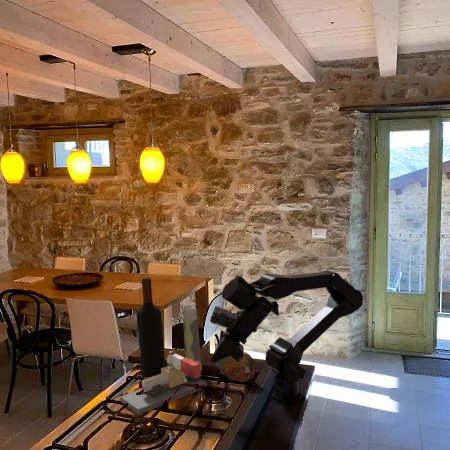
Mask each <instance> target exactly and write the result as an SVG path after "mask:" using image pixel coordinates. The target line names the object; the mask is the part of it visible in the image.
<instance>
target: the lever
mask: <svg viewBox="0 0 450 450" xmlns="http://www.w3.org/2000/svg"><path fill="white" fill-rule="evenodd" d="M167 355H168V356H166V365H167V366H169V365H172V366H174V367H176V368H178V369H180V370H181V372H183V373H185V374H187V375H189V376H191V377H193V378H194V379H195V378H198V377H200V378H201V377H202V371H201V369H200V363H197V362H195V361H193V360H191V359H189V358H187V357H186V358H185V356H182V355H179V354H177V353H176V351H175V350H172V349H171V350H169V351H168V352H167Z"/></svg>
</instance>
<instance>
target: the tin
mask: <svg viewBox="0 0 450 450" xmlns="http://www.w3.org/2000/svg"><path fill="white" fill-rule="evenodd" d="M212 363H213V366H214V367H213V368H215V367H217V368H218V369H219V370H220V372H221V373H222V374H226V377H225V378H227V379H230V380H234V381H237V382H239V383H245V382H247V381H249V380H251V379H252V378H253V377H254V376H255V373H256V365H255V364H256V363H255V360H254V359H253V357H252V356H251V354H249V353H248V352H246V351H244V357H243V358H242V359H241V360H240V361H239V362H237V361H236V360H235V359H233V358H232V357H231V356H229V357H226V358H224V359H221V360H219V361H216V362H212ZM222 374H221V375H222ZM221 375H220V376H221Z"/></svg>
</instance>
